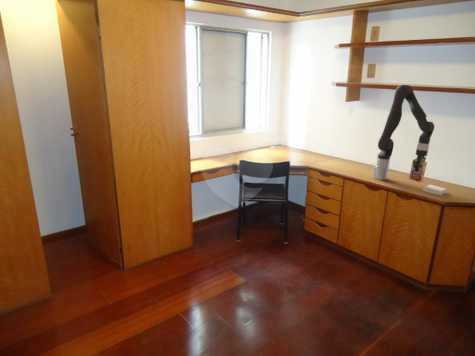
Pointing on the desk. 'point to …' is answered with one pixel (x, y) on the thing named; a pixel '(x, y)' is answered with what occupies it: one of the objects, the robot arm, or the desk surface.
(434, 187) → the plinth
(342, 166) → the desk surface
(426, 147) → the robot arm
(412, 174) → the candy box
